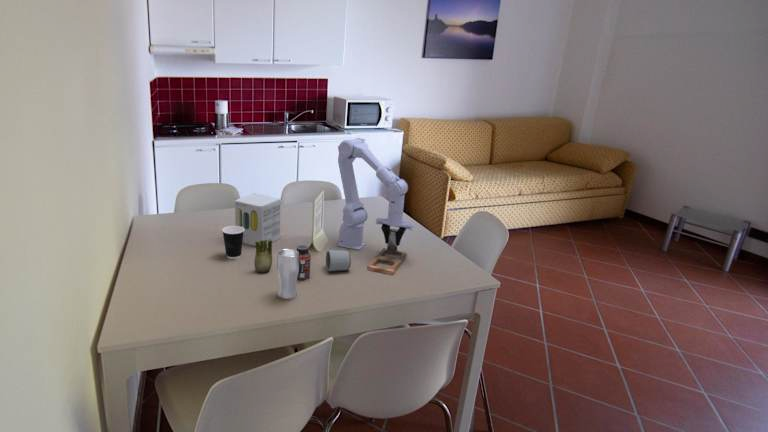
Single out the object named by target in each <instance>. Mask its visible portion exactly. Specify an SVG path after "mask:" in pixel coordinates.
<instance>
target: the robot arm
mask: <svg viewBox="0 0 768 432" xmlns="http://www.w3.org/2000/svg"><path fill="white" fill-rule="evenodd" d="M337 150H338V155H337V156H338V158H337V162H338V163H337V164H338V168H339V174H340V179H341V184H342V189H343V193H344V194H343V195H344V199H345V205H344V207H343V209H342V214H343V215H342V221H343V223H341V224H340V227H339V233H338V234H339V235H338V244H337V245H338V247H342V248H347V249H353V250H357V251H359V250H361V249H362V248H363V247H364V246H365V245H366V241H365V242H364V241H363V238H364V225H365V222H366V221H367V220H368V217H369V215H368V211H367V210H366V207H365V204H364V203H363V202H362V201H360V197H359V190H358V186H357V182H356V176H355V170H354V165H353V163H354V162H355V160H356V158H358V159H362V160H363V161H364V162H365V163H366V164H367V165H369V167H370V168H371V169H373V170H374V171H375V176H376V178H377V179H378V180H379V181H380V182H381V183H382V184H383V185H384V187H386V192H387V194H388V211H387V218H382V217H381V218H380V217H377V218H376V220H375V224H376V225H381V231H382V233H383V236H384V240H385V245H386V244H388V233H389V229H391V227H395V228H398V229H397V230H398V231H397V232H398V238H397V247H398V246H400V244H401V240H402V239H403V236H404V234H405V233H406V231H407V230H409V231H413V229H414V224H413V223H409V222H407V221H404V220H403V216H404V207H405V195H406V193H407V192H408V190H409V185H408V182H406V180H405V179H403V178H400V177H399V176H398V175H396V174H395V173H394V172H393V171H392V168H391V166H387V165H383V164H382V163H381V161H380V160H379V159H378V158H377V157H376V155H375V154H374V153H373V152H372V151H371V149H369V145H368V144H367V142H365V140H364V139H362V138H360V137H356V138H352V139H344V140H342V141H341V142H340V144H339V145H338V146H337Z"/></svg>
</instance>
